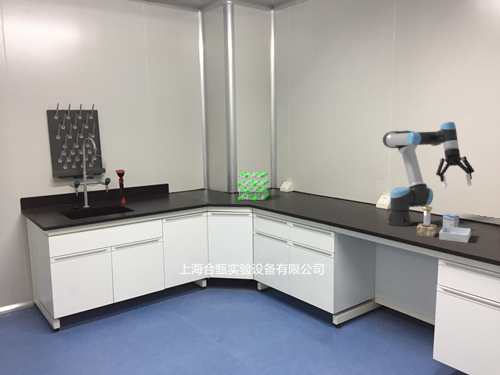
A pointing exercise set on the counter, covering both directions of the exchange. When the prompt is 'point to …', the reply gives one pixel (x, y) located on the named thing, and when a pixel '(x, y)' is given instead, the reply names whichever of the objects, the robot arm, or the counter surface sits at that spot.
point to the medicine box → (450, 220)
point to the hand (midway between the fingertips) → (457, 186)
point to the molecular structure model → (254, 183)
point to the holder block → (426, 230)
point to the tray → (455, 234)
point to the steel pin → (426, 216)
